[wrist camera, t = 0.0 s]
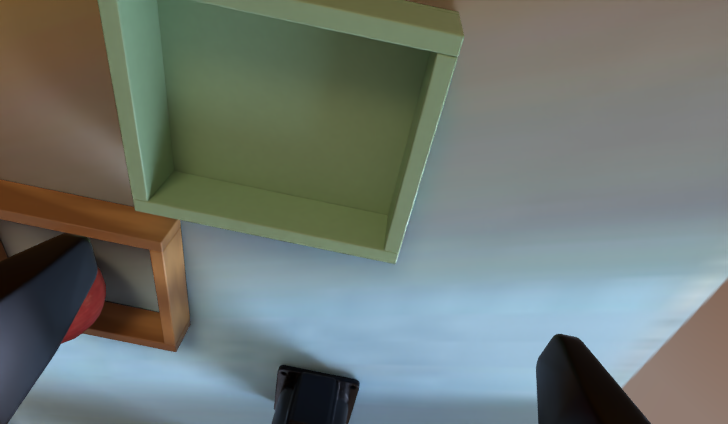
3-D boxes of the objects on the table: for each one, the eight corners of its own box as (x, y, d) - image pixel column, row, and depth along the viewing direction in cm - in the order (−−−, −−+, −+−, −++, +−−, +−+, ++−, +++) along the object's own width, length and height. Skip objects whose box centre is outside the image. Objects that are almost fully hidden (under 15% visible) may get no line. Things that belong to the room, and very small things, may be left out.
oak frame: (191, 324, 34) (176, 352, 32) (11, 288, 34) (-15, 314, 32) (180, 216, 28) (161, 242, 26) (-42, 170, 27) (-78, 193, 25)
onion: (137, 291, 32) (66, 394, 26) (59, 279, 32) (-31, 378, 26) (119, 229, 29) (31, 330, 22) (31, 216, 29) (-80, 312, 23)
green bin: (399, 222, 26) (395, 265, 23) (165, 174, 26) (134, 211, 23) (459, 11, 19) (464, 35, 16) (139, -57, 19) (88, -45, 16)
